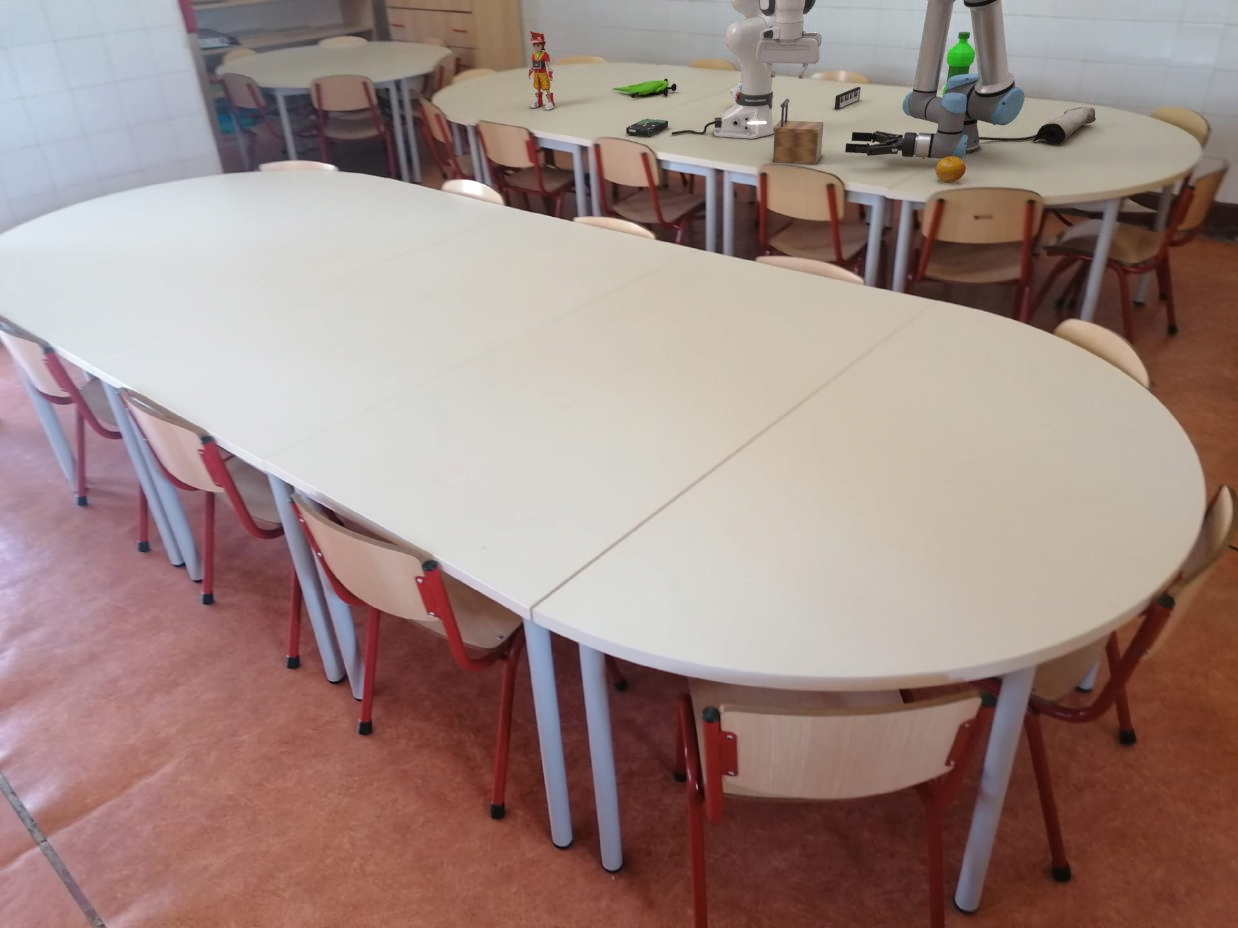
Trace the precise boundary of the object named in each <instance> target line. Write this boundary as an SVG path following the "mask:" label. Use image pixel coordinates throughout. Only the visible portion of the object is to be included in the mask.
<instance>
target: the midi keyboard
mask: <svg viewBox="0 0 1238 928" xmlns="http://www.w3.org/2000/svg"><path fill="white" fill-rule="evenodd" d="M860 97H861V86H856V87H853V88H852V89H849V90H846V91H844V92H842V93H839V94H837V95H835V100H834V110H839V109H841V108H843V107H846V106H848V105H850V104H852V103H855V102H857V101H860Z"/></svg>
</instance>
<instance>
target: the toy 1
mask: <svg viewBox="0 0 1238 928" xmlns="http://www.w3.org/2000/svg"><path fill="white" fill-rule="evenodd" d="M529 33H530V35H531V36H528V37H527V38H528V39H529V40H528V41H527V43H529V44H530V43H531V44H532V48H533V50H534V51H533V52H532V55H531V58H530V59H531V63H530V66H528V74H527V75H528V76H527V77H528V79H529V80H531V75H532V74H533V84H532V85H533V86H532V87H533V88H534V89H535V90H536V92H534V95H535V97H536V100H535V101H533V102H531V105H530V108H531V109H535V108H538V107H542V106H544V101H543V100H544V99H543V95H544V92H546V94H545V97H546V99H547V103H546V104H545V106H544V110H546V111H549V110H553V109H554V107H555V106H556V105H555V99H554V92H551V91H550V90H551V86H552V84H551V82H552V81H553V80H554V77H553V73H554V71H555V70H554V69H552V68H551V63H550V61H551V59H550V58H551V57H550V54H549V53H548V52H547V50H546V48H545V46H546V44H547V41H545V35H544V33H543V32H542V33H539V32H535V31H529Z"/></svg>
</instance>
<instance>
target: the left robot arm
mask: <svg viewBox="0 0 1238 928" xmlns="http://www.w3.org/2000/svg"><path fill="white" fill-rule="evenodd" d="M730 2H731V5H732V7H733V9H734V10H735V11H736V12H737V13H740V14H741V15H743V16H744V17H745V18H742V19H739V20H737V21H735V22H733V23H731V24H729V26H728V27H727V28H726V30H725V35H724V37H725V38H724V39H725V40H724V41H725V43H726V45H725V46H726V47H727V49H728V50H729V51H730V52H731V53H732V54H733V55H734V56H735V57H736V59H737V61H738V64H739V67H740V73H741V74H740V75H741V85H742V91H737V93H736V101H735V103H734V104H733V105H732V106H730V107H729V108H727V110H726V111H724V113H722V114H721V117H720V116H719V117H714V120H713V121H710V122H708V123H706V124H705V125H704V128H703V131H695V130H692V129H684V130H677V131H671V135H672V136H675V135H681V134H694V135H704V134H706V133H707V129H708V128H709V127H710V126H712V125H714V130H713V135H714V136H715V137H721V138H722V137H723V138H736V139H737V138H738V139H750V140H753V139H754V140H755V139H758V138H761V137H766V136H770V135H774V132H773V128H774V126H775V125H774V120H773V107H774V91H773V79H774V78H775V77H776V71H775V70H773V68H772V66H773V64H789V65H790V64H791V65H792V64H793V65H795V64H796V65H801V64H802V68H803V69H802V70H801V71H799V72H798V80H799V79H804V78H805V72H806V71H807V69H808V67H809V65H816V64H817V63H819V61H820V59H821V57H820V56H821V49H820V48H821V46H822V35H821V34H820V33H819V32H818V31H805V30H804V25H805V23H804V22H805V18H804V15H807V14H808V13H809V12H810V11H811V10H812V9H813V8H814V6H815V4H816V2H817V0H730Z"/></svg>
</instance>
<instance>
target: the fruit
mask: <svg viewBox="0 0 1238 928" xmlns="http://www.w3.org/2000/svg"><path fill="white" fill-rule="evenodd" d="M966 171H967V165H966V163H965V161H964V160H963V158H962V159H960V158H958V157H955V156H949V157H945V158H943V159H940V160H939V161H938V162H937V164H936V167H935V175H936V177H937V178H938V179H939V180H940V181H942V182H946V183H954V182H958V181H959V180H960V179H962V178H963V177H964V176H965V173H966Z"/></svg>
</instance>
